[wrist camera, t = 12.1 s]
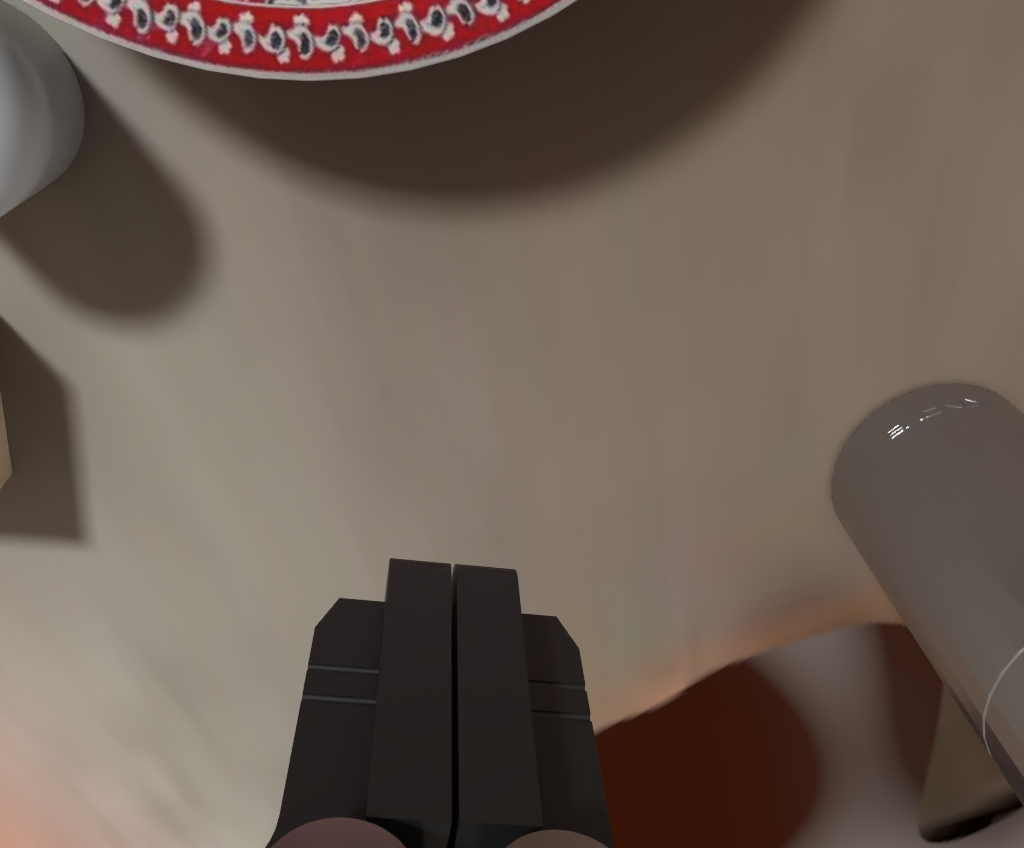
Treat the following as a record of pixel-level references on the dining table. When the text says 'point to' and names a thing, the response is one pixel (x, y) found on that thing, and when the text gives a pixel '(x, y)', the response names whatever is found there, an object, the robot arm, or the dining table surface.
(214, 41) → the ceramic bowl
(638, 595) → the dining table surface
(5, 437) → the block
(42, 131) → the white rounded cylinder
